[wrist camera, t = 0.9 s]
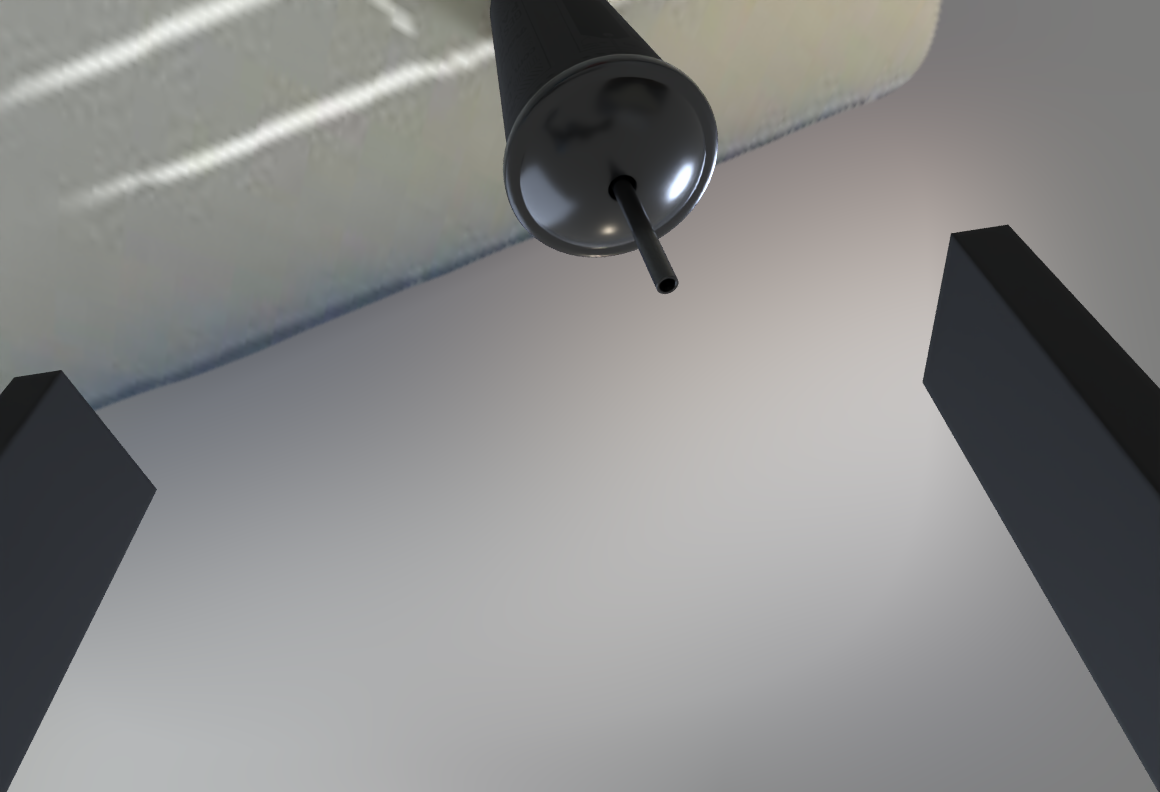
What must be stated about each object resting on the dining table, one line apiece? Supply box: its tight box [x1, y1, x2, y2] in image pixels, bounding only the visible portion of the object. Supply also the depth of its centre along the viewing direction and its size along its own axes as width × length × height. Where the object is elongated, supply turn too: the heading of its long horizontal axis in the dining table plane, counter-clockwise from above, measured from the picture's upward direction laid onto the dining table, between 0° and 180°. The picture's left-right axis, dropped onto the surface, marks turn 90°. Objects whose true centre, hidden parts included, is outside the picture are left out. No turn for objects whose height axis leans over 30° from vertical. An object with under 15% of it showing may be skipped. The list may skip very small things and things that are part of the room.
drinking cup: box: [490, 0, 718, 294], centre depth 29 cm, size 8×8×20 cm
